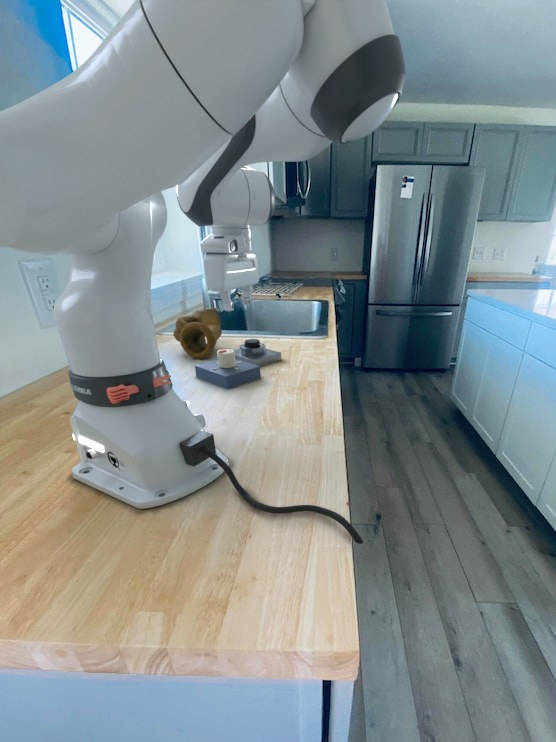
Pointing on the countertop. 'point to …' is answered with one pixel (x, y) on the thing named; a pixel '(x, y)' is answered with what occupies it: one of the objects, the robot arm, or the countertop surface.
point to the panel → (228, 373)
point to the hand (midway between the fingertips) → (238, 307)
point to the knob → (226, 358)
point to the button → (252, 343)
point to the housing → (257, 355)
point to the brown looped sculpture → (198, 332)
